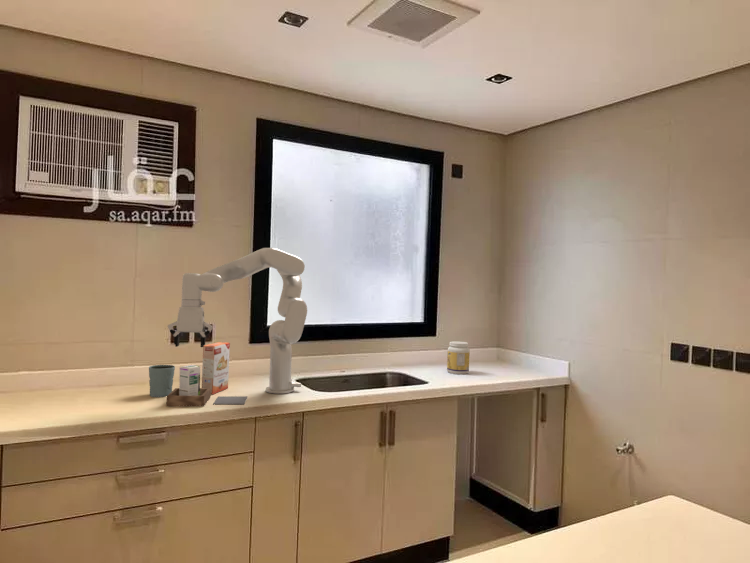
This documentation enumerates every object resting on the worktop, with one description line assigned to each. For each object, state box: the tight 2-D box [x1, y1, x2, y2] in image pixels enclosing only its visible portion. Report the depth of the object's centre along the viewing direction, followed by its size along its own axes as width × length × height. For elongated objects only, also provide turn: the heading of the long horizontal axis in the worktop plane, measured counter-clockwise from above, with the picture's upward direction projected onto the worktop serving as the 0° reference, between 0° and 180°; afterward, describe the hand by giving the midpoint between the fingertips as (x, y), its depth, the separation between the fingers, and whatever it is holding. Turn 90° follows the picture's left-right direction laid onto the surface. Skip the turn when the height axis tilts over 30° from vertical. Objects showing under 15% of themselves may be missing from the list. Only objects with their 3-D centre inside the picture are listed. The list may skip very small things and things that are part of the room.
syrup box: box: [178, 364, 201, 396], centre depth 208 cm, size 6×6×14 cm
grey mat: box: [212, 395, 248, 406], centre depth 212 cm, size 12×12×1 cm
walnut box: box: [166, 387, 212, 407], centre depth 208 cm, size 14×14×4 cm
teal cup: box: [148, 364, 176, 398], centre depth 219 cm, size 10×10×12 cm
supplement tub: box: [446, 340, 471, 375], centre depth 290 cm, size 12×12×17 cm
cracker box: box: [201, 341, 231, 395], centre depth 228 cm, size 14×6×21 cm, turn 168°
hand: (189, 346), depth 208 cm, fingers open, 9 cm apart
